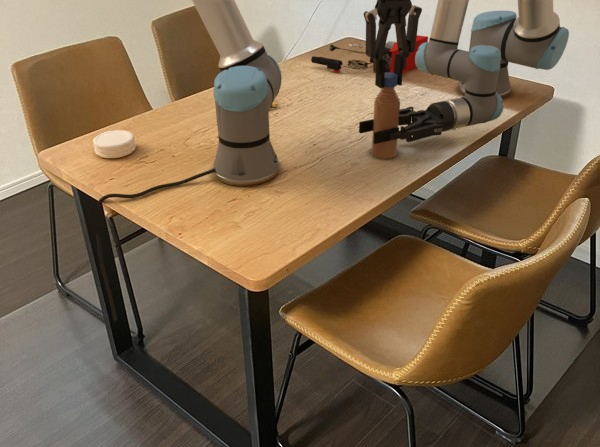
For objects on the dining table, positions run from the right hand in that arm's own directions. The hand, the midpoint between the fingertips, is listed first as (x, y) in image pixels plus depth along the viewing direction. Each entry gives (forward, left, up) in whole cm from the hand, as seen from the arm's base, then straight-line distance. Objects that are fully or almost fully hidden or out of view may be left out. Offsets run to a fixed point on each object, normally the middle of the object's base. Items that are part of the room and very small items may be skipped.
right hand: (367, 132), depth 148 cm
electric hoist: (-58, -39, -6) cm, 71 cm away
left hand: (-5, +2, +11) cm, 12 cm away
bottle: (-5, +2, -6) cm, 8 cm away
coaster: (+36, -51, -6) cm, 63 cm away
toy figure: (-10, -45, -6) cm, 46 cm away
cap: (-5, +2, +13) cm, 14 cm away
